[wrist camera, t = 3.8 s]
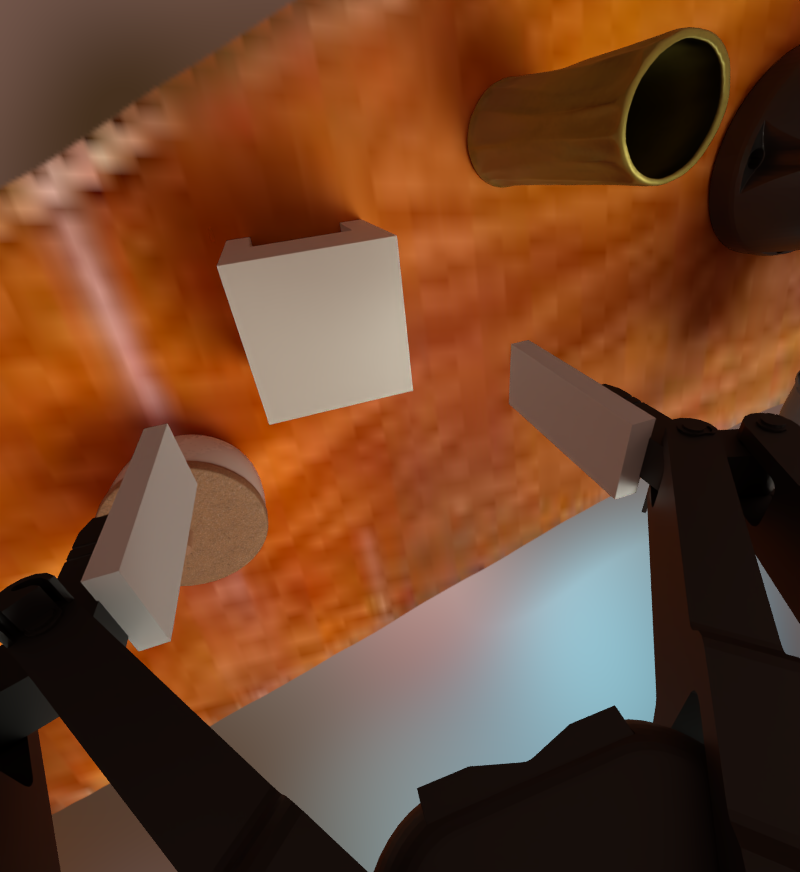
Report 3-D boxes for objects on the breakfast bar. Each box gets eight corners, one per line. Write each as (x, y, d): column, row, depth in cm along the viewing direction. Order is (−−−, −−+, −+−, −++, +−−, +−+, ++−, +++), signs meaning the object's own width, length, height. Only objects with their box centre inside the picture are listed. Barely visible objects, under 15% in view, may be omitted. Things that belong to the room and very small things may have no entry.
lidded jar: (113, 409, 31) (67, 488, 23) (266, 412, 34) (270, 481, 27) (133, 521, 36) (100, 615, 29) (265, 513, 40) (267, 595, 32)
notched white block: (378, 343, 34) (412, 390, 27) (265, 367, 32) (269, 424, 25) (360, 219, 29) (396, 235, 22) (226, 240, 28) (216, 266, 20)
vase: (558, 87, 28) (768, 29, 17) (533, 192, 31) (697, 204, 20) (476, 69, 27) (648, -10, 15) (458, 182, 30) (590, 189, 18)
